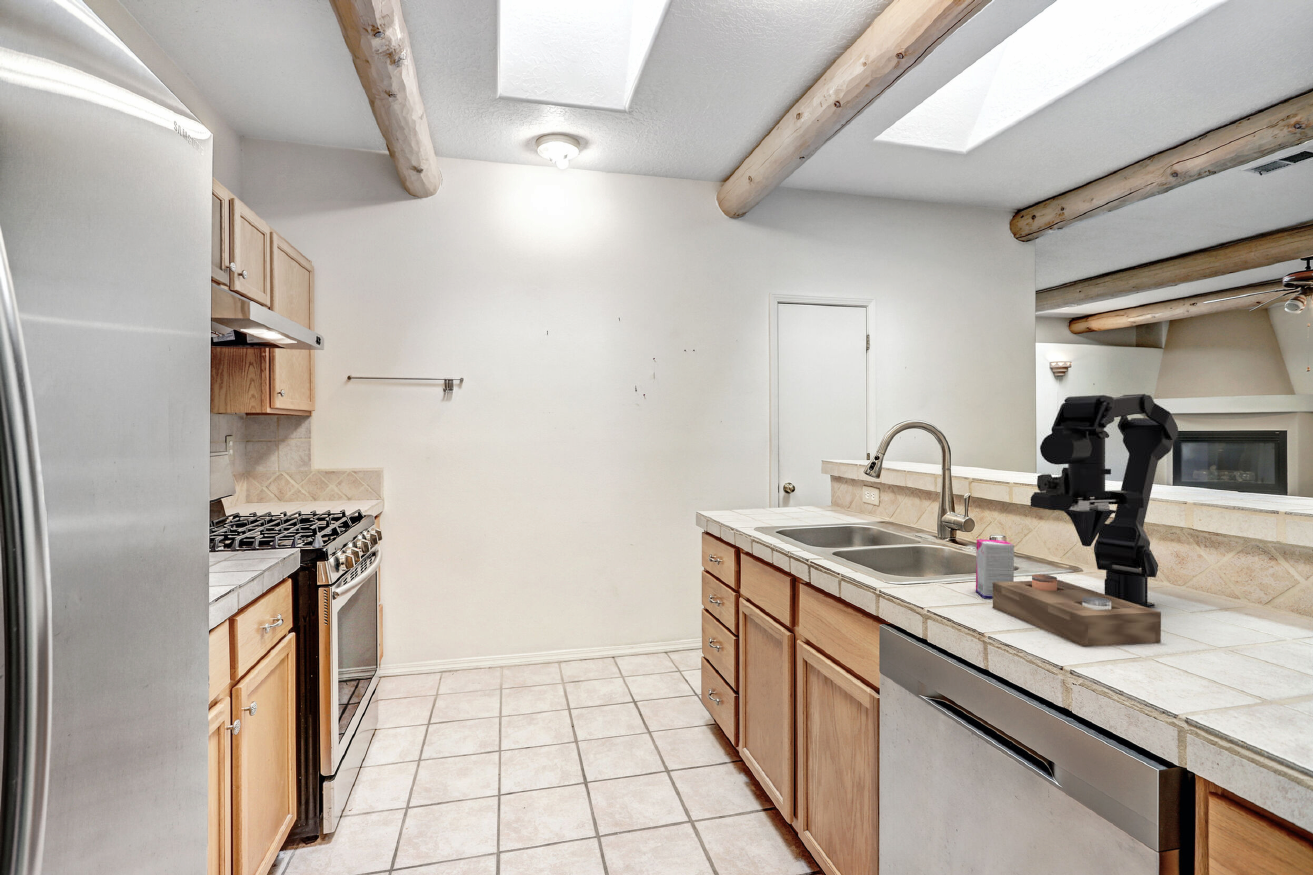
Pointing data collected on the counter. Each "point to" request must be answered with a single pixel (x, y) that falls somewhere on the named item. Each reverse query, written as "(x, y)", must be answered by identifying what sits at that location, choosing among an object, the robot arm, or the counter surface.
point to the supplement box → (993, 565)
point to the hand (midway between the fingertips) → (1086, 546)
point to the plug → (1096, 603)
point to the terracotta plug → (1044, 582)
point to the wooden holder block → (1078, 614)
